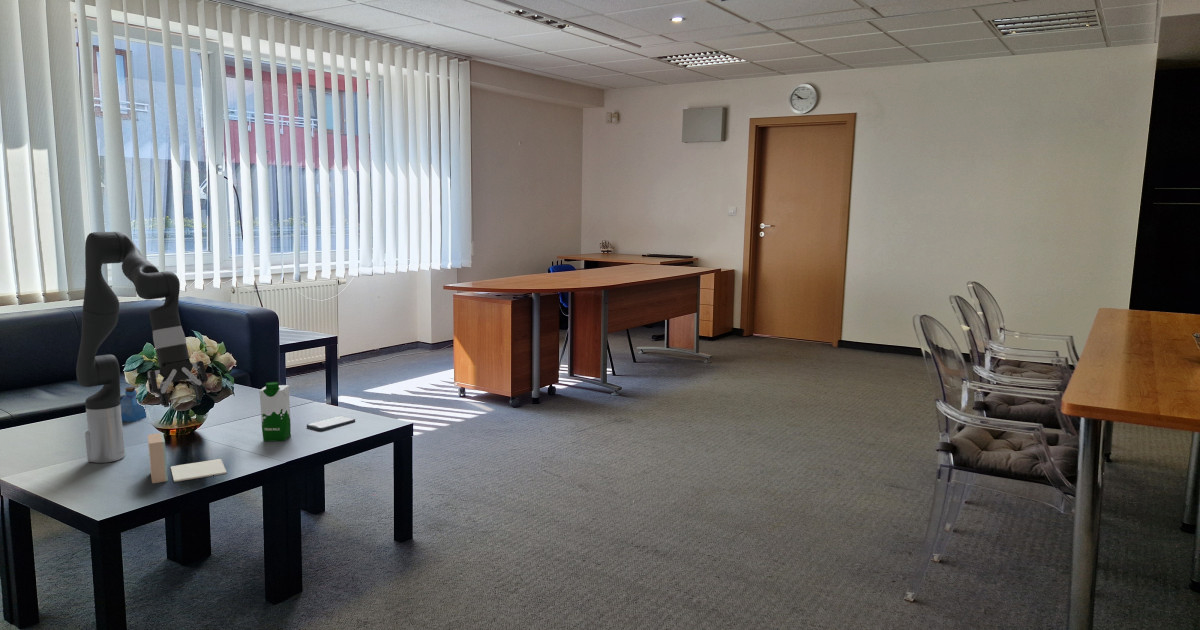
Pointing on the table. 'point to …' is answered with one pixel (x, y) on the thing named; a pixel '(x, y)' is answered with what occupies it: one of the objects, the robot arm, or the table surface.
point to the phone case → (330, 423)
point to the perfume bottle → (131, 406)
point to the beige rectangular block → (157, 458)
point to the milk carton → (275, 412)
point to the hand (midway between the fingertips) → (183, 403)
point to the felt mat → (198, 470)
